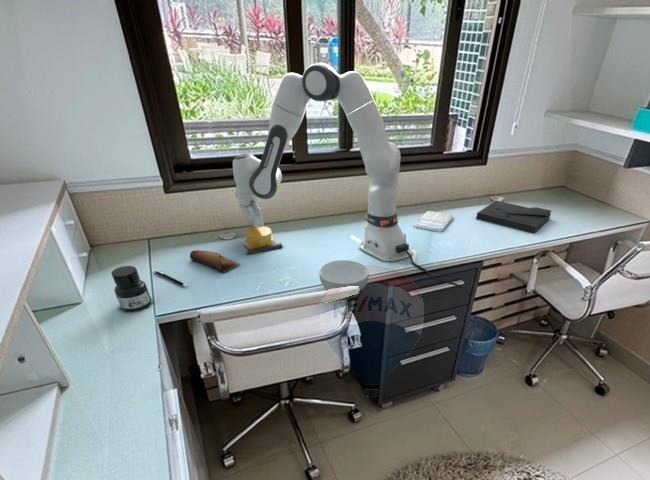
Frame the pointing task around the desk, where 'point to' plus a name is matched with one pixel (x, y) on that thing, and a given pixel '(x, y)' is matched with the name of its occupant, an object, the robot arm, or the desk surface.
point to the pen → (170, 278)
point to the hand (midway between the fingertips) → (254, 230)
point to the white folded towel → (434, 221)
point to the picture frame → (514, 216)
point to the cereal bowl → (343, 274)
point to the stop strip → (264, 248)
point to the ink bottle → (130, 289)
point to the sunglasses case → (213, 260)
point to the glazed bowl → (258, 237)
